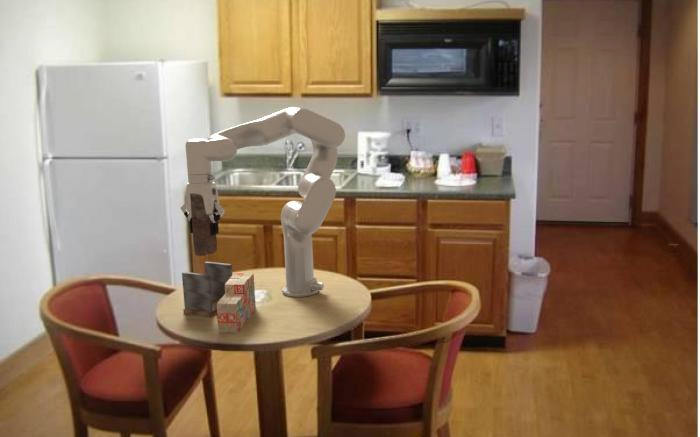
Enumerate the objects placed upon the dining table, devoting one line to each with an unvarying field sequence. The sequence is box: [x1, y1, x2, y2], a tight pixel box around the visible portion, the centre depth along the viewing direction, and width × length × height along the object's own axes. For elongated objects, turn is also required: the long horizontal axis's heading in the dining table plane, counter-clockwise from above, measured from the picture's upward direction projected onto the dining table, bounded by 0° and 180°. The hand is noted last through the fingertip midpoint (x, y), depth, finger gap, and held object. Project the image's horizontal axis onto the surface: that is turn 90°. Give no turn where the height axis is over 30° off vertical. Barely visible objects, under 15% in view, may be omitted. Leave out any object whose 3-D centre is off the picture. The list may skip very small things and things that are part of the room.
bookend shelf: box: [181, 261, 234, 318], centre depth 249 cm, size 10×15×14 cm, turn 155°
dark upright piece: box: [190, 194, 218, 257], centre depth 244 cm, size 8×7×20 cm
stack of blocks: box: [216, 272, 257, 334], centre depth 238 cm, size 21×6×12 cm, turn 172°
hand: (204, 232), depth 245 cm, fingers closed on dark upright piece, 7 cm apart
